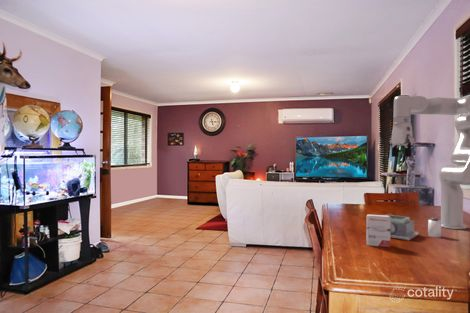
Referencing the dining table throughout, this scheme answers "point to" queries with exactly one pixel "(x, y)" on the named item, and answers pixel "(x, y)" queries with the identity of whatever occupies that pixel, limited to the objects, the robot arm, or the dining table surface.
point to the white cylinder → (434, 227)
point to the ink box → (378, 230)
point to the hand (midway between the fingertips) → (401, 156)
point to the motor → (402, 227)
